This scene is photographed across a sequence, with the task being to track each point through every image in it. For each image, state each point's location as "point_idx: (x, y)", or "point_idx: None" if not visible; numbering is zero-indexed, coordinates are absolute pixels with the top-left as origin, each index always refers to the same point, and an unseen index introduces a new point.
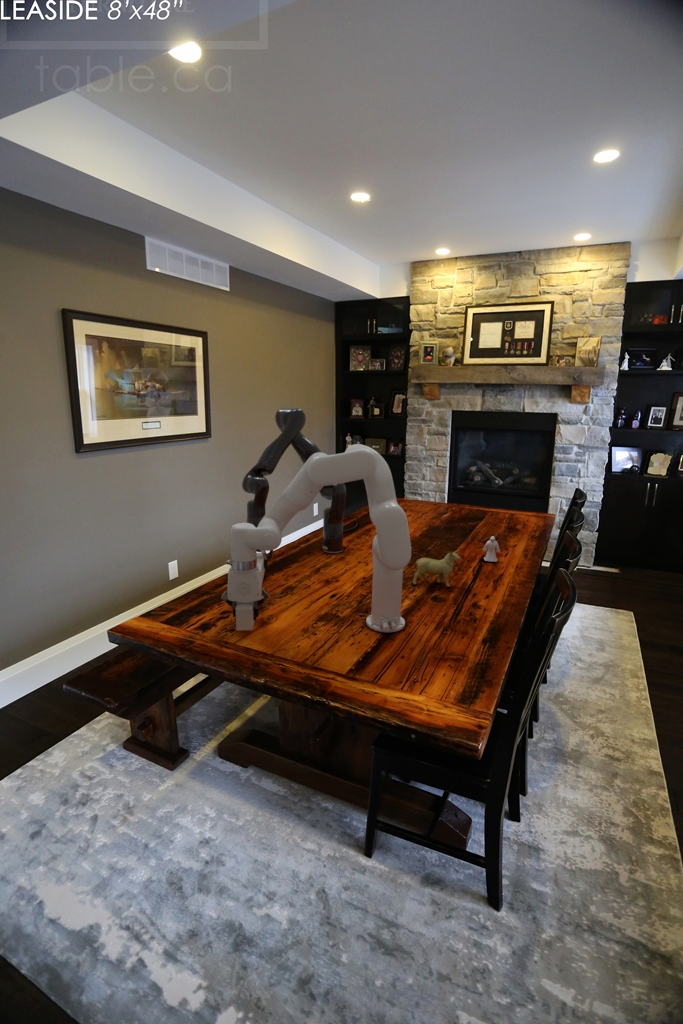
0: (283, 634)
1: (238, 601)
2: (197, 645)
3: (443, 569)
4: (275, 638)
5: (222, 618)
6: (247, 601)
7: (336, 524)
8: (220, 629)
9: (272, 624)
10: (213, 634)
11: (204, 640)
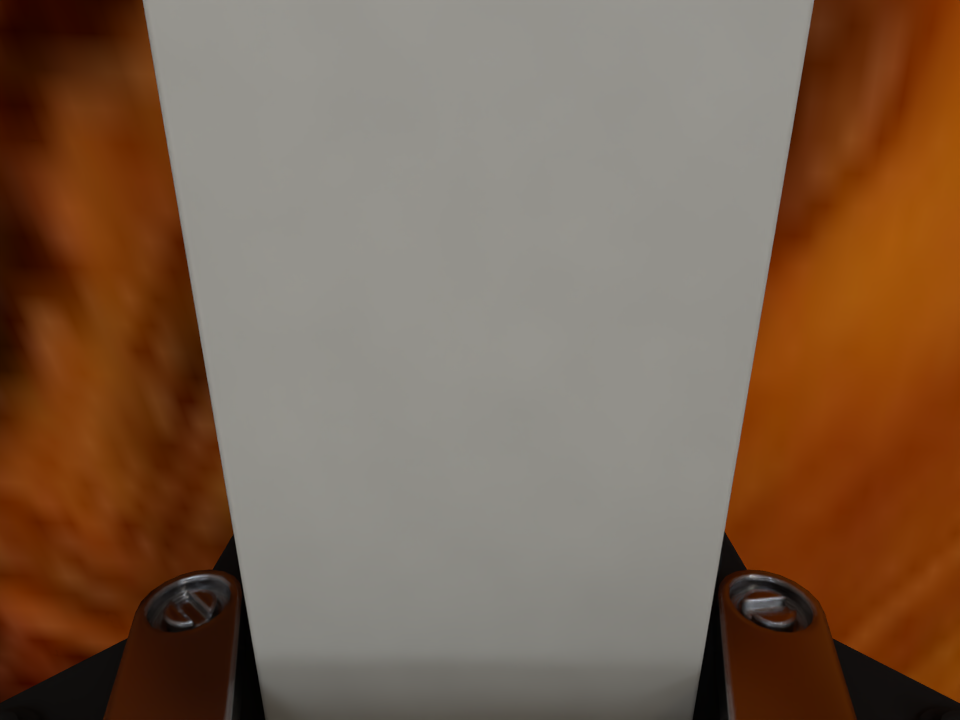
0: (904, 514)
1: (278, 694)
2: (49, 672)
3: None
4: (803, 585)
5: (61, 36)
6: (527, 702)
7: None
8: (157, 379)
9: (816, 270)
10: (119, 488)
11: (75, 596)
